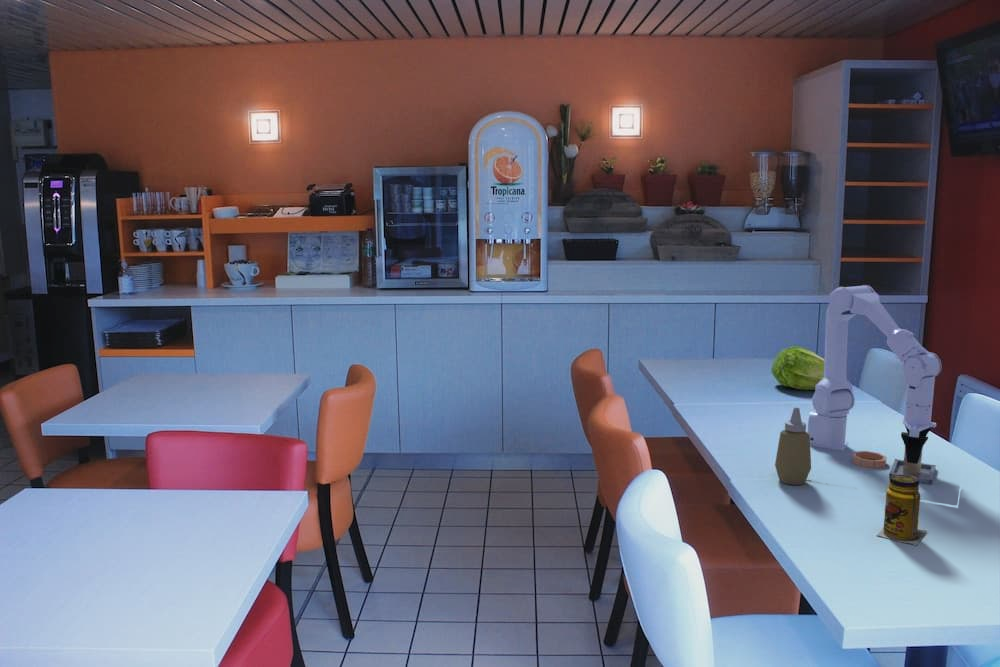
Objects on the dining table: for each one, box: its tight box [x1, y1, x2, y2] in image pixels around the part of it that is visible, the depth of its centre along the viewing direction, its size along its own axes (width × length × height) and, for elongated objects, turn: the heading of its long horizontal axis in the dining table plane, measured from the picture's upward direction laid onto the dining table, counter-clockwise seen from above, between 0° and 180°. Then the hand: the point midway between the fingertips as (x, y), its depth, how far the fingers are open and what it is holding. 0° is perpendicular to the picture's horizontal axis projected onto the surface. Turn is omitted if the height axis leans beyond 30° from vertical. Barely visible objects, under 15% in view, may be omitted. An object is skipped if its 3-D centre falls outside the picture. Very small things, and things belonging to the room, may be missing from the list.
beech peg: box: [903, 448, 923, 476], centre depth 191 cm, size 4×4×8 cm
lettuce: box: [771, 345, 848, 391], centre depth 276 cm, size 15×24×16 cm
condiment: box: [876, 475, 928, 546], centre depth 158 cm, size 7×8×12 cm
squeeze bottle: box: [774, 407, 812, 486], centre depth 187 cm, size 8×8×18 cm
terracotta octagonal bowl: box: [851, 450, 887, 469], centre depth 200 cm, size 8×8×2 cm
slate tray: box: [888, 458, 937, 486], centre depth 192 cm, size 9×12×2 cm
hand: (913, 458), depth 191 cm, fingers open, 7 cm apart
